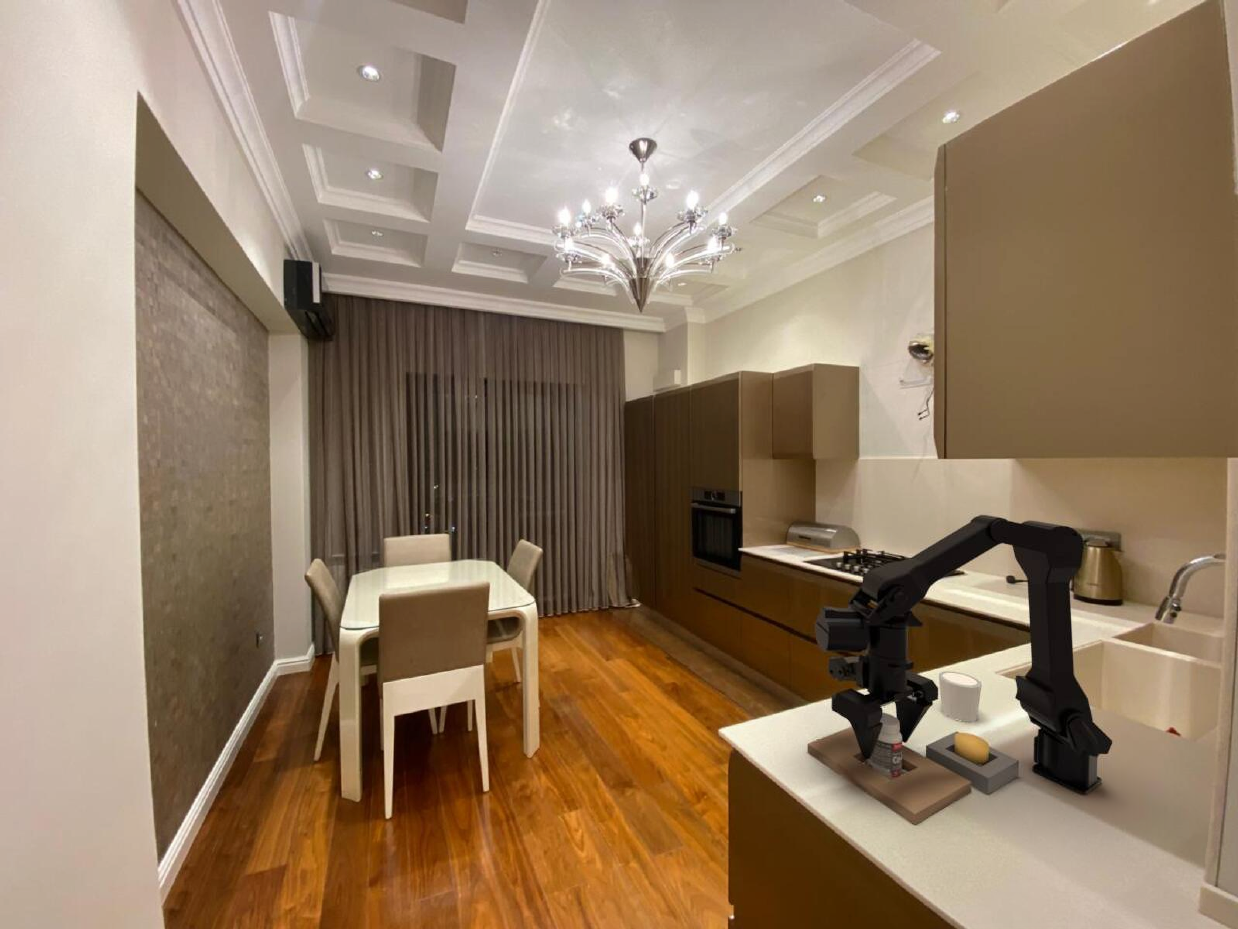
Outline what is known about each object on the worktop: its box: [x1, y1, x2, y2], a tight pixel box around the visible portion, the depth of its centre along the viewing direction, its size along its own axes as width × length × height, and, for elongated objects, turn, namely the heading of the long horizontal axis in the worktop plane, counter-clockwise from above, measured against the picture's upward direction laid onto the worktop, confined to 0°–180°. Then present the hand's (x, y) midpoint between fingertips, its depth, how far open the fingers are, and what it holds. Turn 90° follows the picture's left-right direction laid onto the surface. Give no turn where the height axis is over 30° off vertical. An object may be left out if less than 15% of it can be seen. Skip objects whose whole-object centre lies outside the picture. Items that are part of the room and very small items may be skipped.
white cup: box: [938, 670, 983, 723], centre depth 94 cm, size 7×7×7 cm
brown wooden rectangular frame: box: [806, 726, 972, 826], centre depth 77 cm, size 18×14×2 cm
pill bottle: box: [867, 712, 903, 780], centre depth 77 cm, size 5×5×8 cm
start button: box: [955, 732, 990, 766], centre depth 78 cm, size 4×4×2 cm
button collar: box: [925, 731, 1020, 796], centre depth 78 cm, size 9×9×2 cm
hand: (884, 749), depth 77 cm, fingers open, 9 cm apart
